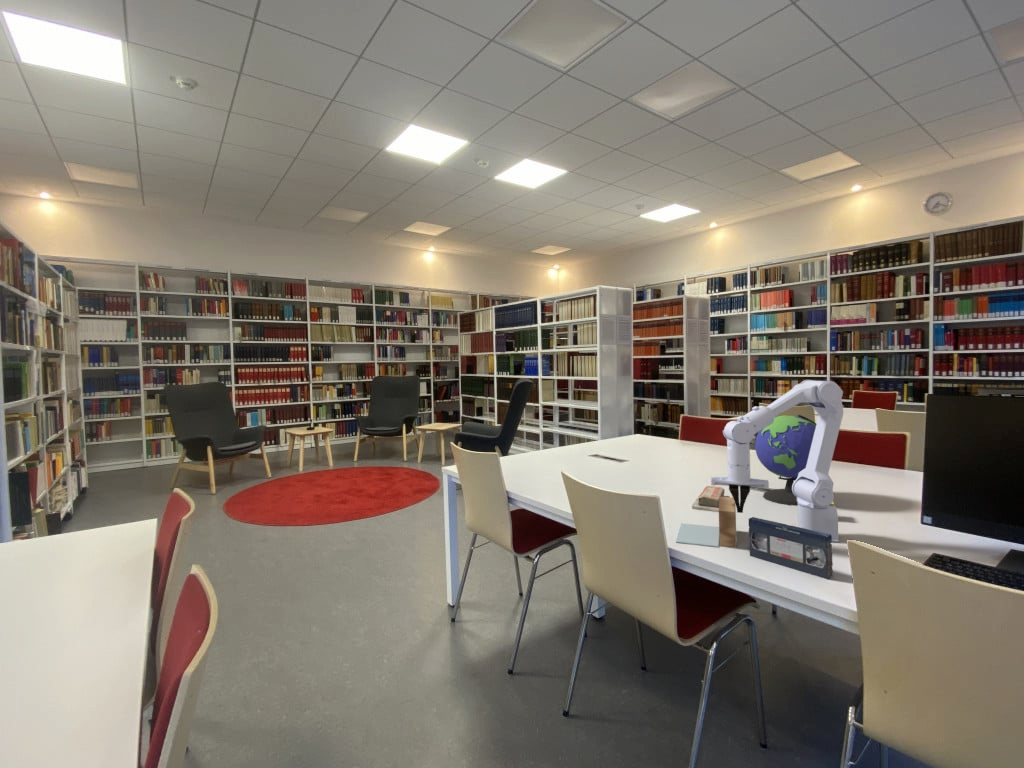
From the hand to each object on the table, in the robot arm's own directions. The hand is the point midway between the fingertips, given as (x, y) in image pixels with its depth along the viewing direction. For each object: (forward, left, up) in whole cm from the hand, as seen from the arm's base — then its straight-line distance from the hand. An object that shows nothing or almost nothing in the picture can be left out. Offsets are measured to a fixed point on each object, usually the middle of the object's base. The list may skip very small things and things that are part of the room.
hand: (739, 511), depth 133 cm
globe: (-17, -47, -8) cm, 51 cm away
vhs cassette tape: (-10, +15, -8) cm, 20 cm away
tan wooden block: (+3, 0, -8) cm, 9 cm away
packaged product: (+9, -33, -9) cm, 35 cm away
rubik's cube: (-24, -27, -8) cm, 37 cm away
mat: (+11, 0, -8) cm, 14 cm away
